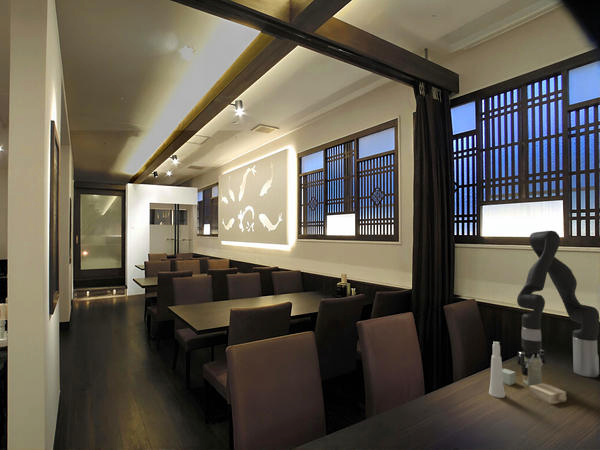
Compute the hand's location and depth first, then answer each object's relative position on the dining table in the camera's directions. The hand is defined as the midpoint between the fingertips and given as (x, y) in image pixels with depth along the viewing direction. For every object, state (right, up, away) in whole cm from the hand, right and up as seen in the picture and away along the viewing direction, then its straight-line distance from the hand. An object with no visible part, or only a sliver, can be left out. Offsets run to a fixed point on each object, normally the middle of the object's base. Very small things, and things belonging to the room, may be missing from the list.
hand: (531, 374), depth 159 cm
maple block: (-2, -4, -13) cm, 14 cm away
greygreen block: (-10, -5, +2) cm, 11 cm away
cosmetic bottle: (-22, -4, -11) cm, 25 cm away
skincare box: (0, -5, 0) cm, 5 cm away
